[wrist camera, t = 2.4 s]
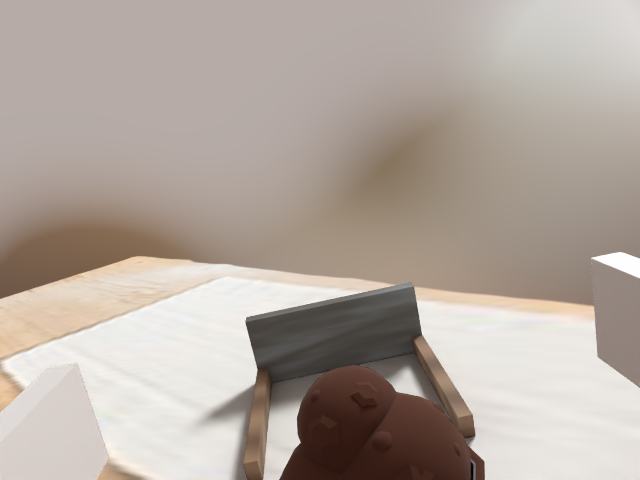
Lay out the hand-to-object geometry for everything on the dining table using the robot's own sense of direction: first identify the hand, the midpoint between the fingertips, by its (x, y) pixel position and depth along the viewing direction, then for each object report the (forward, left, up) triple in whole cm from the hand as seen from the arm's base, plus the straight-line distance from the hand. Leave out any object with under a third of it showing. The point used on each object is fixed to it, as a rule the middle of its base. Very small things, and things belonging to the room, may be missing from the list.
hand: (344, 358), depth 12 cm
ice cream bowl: (-6, -8, -22) cm, 24 cm away
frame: (-18, -26, -21) cm, 38 cm away
